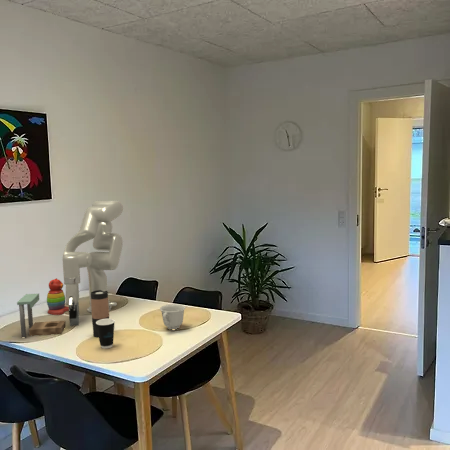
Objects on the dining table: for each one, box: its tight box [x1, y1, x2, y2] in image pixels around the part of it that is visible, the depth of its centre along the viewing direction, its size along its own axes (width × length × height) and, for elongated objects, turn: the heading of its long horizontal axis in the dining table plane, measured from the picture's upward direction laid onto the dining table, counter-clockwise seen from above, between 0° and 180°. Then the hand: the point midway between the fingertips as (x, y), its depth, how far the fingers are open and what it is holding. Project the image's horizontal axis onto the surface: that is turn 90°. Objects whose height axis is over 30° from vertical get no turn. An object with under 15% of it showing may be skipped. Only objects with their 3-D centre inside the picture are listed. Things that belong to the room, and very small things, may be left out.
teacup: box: [159, 303, 186, 330], centre depth 218 cm, size 12×15×10 cm
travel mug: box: [91, 290, 110, 338], centre depth 212 cm, size 8×8×20 cm
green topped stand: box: [16, 293, 40, 338], centre depth 218 cm, size 6×14×17 cm, turn 8°
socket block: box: [28, 320, 67, 337], centre depth 220 cm, size 14×10×3 cm
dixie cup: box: [96, 318, 116, 349], centre depth 199 cm, size 8×8×11 cm
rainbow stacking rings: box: [46, 278, 69, 316], centre depth 249 cm, size 11×10×18 cm
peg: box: [69, 301, 81, 327], centre depth 229 cm, size 4×4×12 cm
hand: (74, 315), depth 229 cm, fingers open, 6 cm apart
